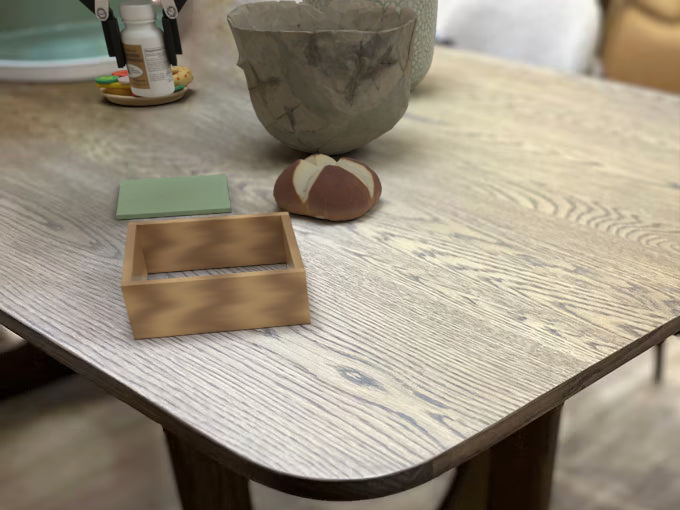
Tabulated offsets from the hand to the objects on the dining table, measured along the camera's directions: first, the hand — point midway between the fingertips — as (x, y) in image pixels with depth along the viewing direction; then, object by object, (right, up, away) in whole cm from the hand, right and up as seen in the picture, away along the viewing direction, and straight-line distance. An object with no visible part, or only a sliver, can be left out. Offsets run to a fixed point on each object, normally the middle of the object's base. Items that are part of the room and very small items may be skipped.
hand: (147, 62), depth 86 cm
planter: (+19, +26, +48) cm, 58 cm away
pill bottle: (0, -2, +2) cm, 3 cm away
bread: (+18, -11, +8) cm, 22 cm away
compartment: (+10, -28, -10) cm, 31 cm away
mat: (0, -10, +9) cm, 13 cm away
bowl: (+16, +3, +23) cm, 28 cm away
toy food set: (-15, +22, +42) cm, 50 cm away
